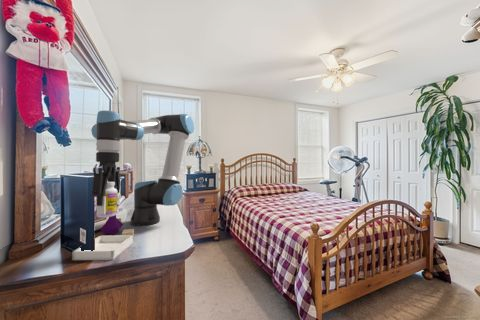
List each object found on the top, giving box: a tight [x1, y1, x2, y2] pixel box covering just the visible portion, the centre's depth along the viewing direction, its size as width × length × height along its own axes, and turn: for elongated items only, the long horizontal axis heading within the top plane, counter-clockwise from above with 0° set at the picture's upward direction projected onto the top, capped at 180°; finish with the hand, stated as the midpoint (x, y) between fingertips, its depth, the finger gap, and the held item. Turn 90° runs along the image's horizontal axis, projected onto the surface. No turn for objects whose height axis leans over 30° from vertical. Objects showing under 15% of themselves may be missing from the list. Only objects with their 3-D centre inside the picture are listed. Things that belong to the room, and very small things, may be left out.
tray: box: [71, 234, 135, 261], centre depth 80 cm, size 16×14×3 cm
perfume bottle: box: [100, 203, 124, 236], centre depth 98 cm, size 8×8×18 cm
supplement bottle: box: [96, 181, 118, 219], centre depth 80 cm, size 7×7×13 cm
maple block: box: [121, 228, 135, 236], centre depth 91 cm, size 4×4×4 cm
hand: (106, 211), depth 80 cm, fingers closed on supplement bottle, 7 cm apart
